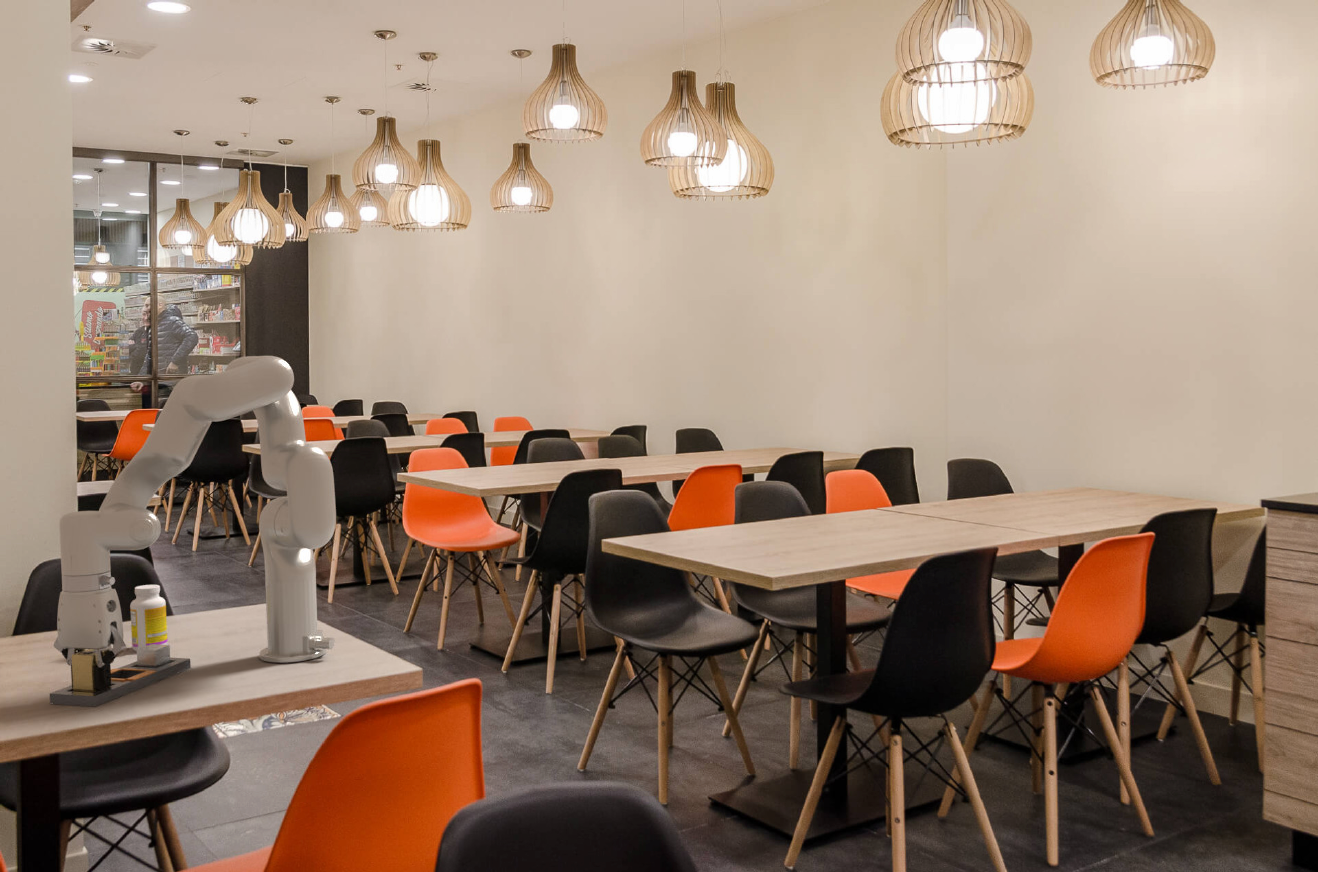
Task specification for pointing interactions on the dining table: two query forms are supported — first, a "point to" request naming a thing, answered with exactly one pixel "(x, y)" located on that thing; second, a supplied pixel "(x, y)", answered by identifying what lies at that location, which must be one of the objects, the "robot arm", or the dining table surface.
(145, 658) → the block
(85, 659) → the brass nut
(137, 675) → the rail
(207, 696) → the dining table surface
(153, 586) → the supplement bottle
